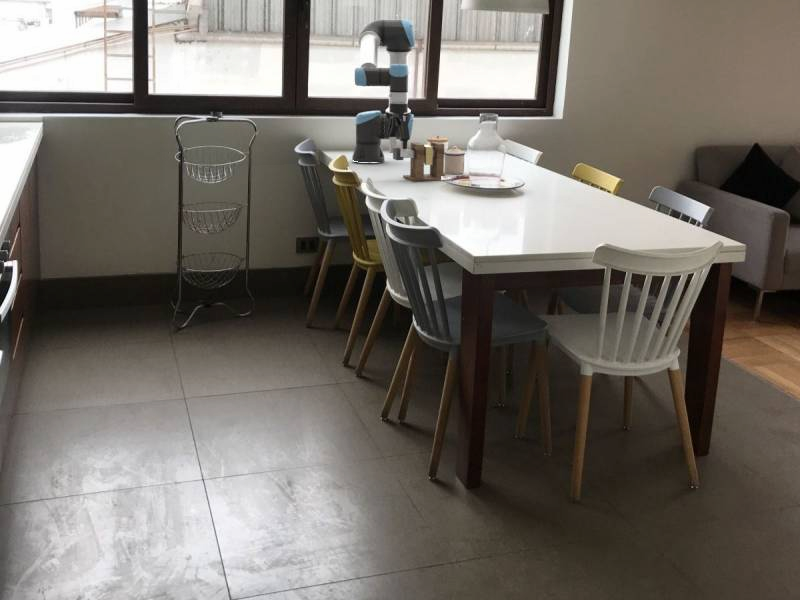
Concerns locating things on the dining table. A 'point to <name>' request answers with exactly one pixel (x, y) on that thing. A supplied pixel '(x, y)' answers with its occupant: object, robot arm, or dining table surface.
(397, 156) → the shaft
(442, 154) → the wooden pillar stand
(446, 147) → the lidded jar
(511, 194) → the dining table surface
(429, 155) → the block
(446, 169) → the teacup with lid
